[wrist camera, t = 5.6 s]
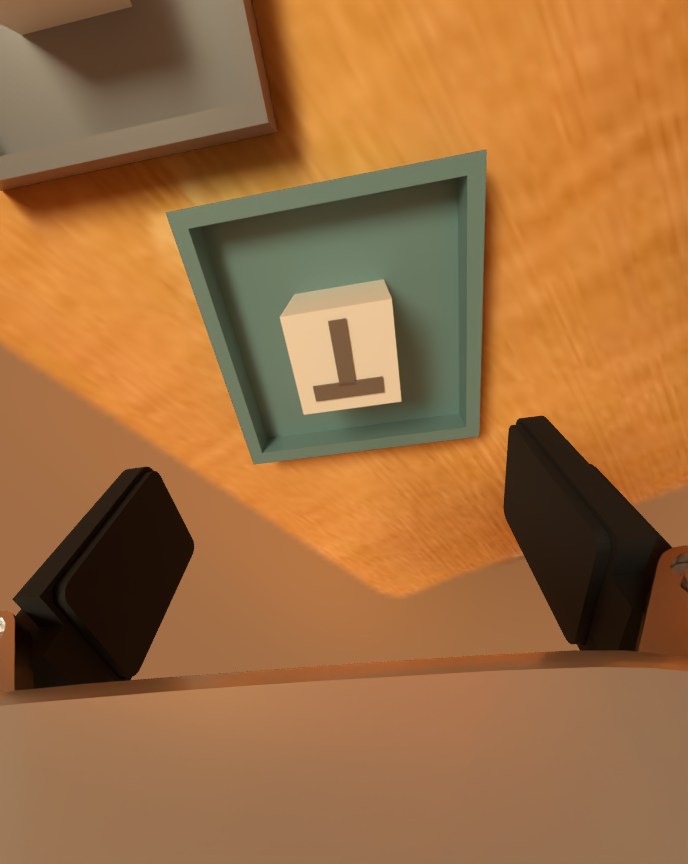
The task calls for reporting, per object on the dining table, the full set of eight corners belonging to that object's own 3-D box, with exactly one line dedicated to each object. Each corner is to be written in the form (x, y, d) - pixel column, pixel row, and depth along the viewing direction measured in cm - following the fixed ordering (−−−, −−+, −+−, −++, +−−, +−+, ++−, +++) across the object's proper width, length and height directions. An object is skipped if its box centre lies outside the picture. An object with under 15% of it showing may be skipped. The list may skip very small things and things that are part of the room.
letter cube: (383, 279, 21) (392, 299, 16) (392, 365, 23) (401, 402, 19) (294, 294, 21) (279, 317, 17) (312, 376, 24) (303, 415, 19)
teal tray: (471, 155, 18) (486, 149, 16) (469, 417, 26) (479, 436, 24) (185, 211, 20) (165, 212, 18) (261, 444, 27) (253, 464, 25)
